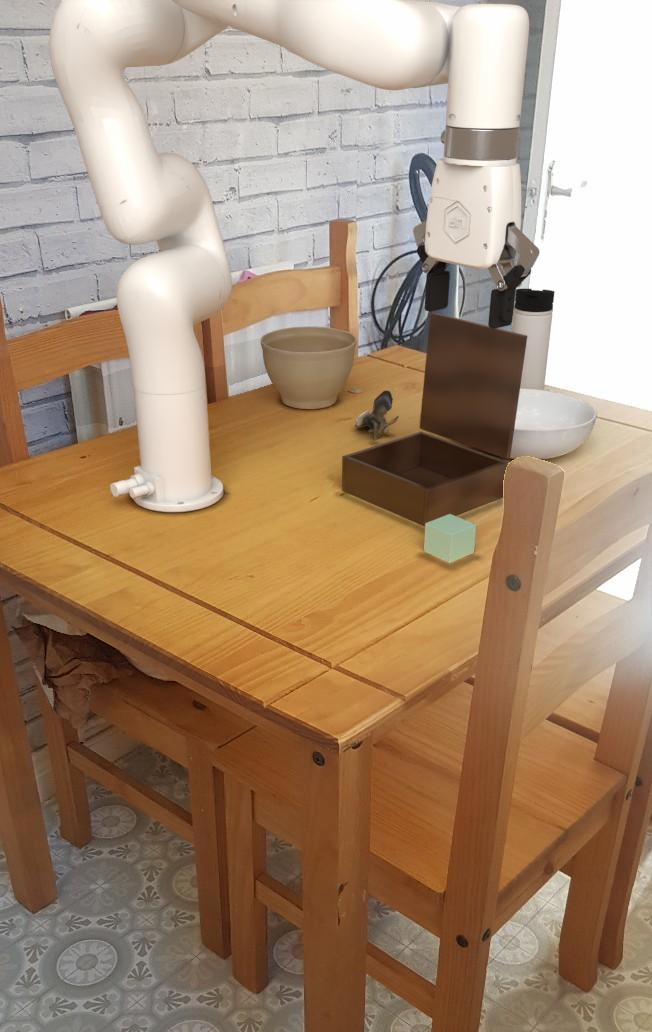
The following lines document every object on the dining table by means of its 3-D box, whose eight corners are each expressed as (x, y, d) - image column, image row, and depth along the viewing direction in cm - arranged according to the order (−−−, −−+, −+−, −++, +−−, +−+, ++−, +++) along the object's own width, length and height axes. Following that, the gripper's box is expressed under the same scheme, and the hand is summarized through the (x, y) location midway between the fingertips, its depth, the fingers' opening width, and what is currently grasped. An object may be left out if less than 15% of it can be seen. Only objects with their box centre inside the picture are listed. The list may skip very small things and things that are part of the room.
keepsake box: (426, 532, 134) (428, 490, 131) (341, 495, 144) (342, 456, 141) (504, 501, 143) (508, 461, 140) (418, 468, 153) (420, 431, 150)
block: (449, 567, 125) (451, 534, 123) (423, 555, 128) (425, 523, 126) (473, 557, 128) (476, 524, 125) (447, 545, 130) (449, 513, 128)
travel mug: (501, 413, 175) (513, 289, 164) (507, 401, 180) (518, 281, 169) (538, 416, 173) (552, 292, 162) (543, 404, 178) (557, 283, 168)
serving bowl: (620, 460, 156) (627, 416, 152) (507, 485, 147) (512, 438, 144) (534, 421, 171) (538, 379, 168) (427, 441, 163) (430, 398, 159)
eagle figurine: (411, 435, 162) (402, 407, 168) (388, 401, 157) (380, 374, 164) (369, 460, 164) (362, 431, 170) (346, 427, 160) (340, 399, 166)
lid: (523, 336, 131) (550, 331, 134) (430, 312, 142) (456, 309, 145) (506, 459, 139) (531, 452, 142) (419, 428, 150) (444, 422, 153)
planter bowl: (244, 400, 181) (241, 336, 175) (315, 382, 189) (315, 321, 184) (301, 423, 170) (301, 356, 164) (374, 403, 179) (376, 339, 173)
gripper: (396, 141, 110) (389, 308, 119) (521, 157, 99) (503, 339, 108) (445, 137, 114) (435, 299, 123) (571, 152, 103) (549, 328, 112)
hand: (467, 317), depth 115 cm, fingers open, 9 cm apart
